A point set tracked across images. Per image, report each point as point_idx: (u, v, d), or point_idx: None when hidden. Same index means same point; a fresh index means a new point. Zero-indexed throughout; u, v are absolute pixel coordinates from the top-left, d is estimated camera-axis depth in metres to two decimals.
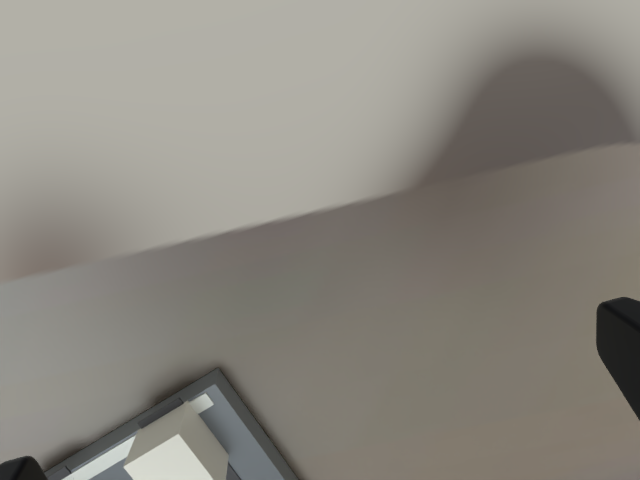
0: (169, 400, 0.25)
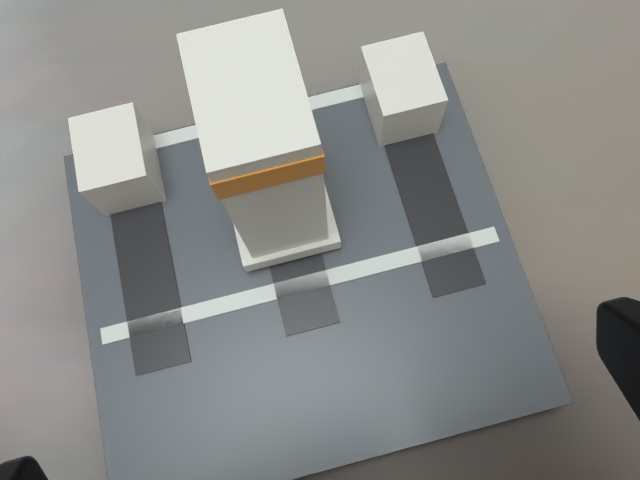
0: None
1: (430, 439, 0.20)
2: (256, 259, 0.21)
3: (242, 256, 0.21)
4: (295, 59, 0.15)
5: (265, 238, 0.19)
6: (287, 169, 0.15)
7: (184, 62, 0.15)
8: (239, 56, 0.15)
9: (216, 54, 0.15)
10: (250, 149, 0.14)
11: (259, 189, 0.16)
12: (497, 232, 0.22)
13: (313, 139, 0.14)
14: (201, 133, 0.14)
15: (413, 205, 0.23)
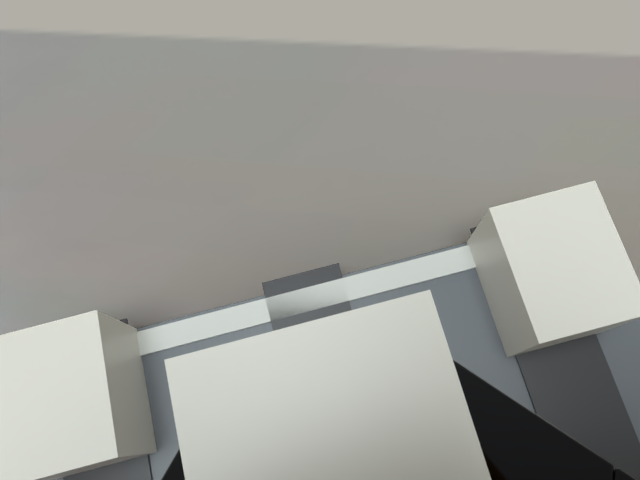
0: None
1: None
2: None
3: None
4: (476, 447, 0.06)
5: None
6: None
7: (185, 448, 0.06)
8: (327, 431, 0.06)
9: (268, 425, 0.06)
10: None
11: None
12: None
13: None
14: None
15: None
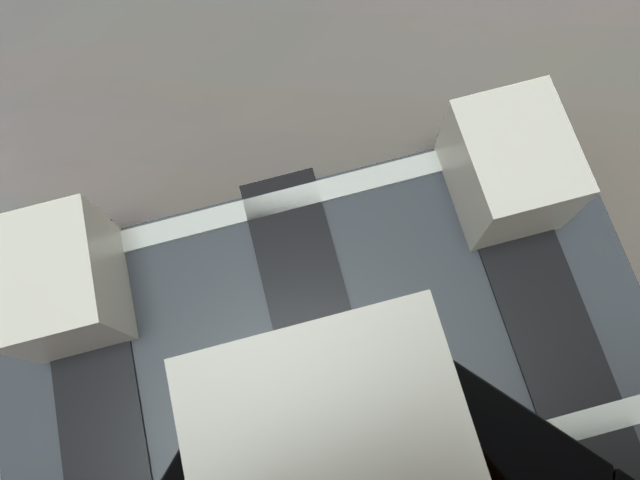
0: None
1: None
2: None
3: None
4: (476, 446, 0.06)
5: None
6: None
7: (184, 447, 0.06)
8: (327, 431, 0.06)
9: (267, 425, 0.06)
10: None
11: None
12: None
13: None
14: None
15: (530, 350, 0.14)
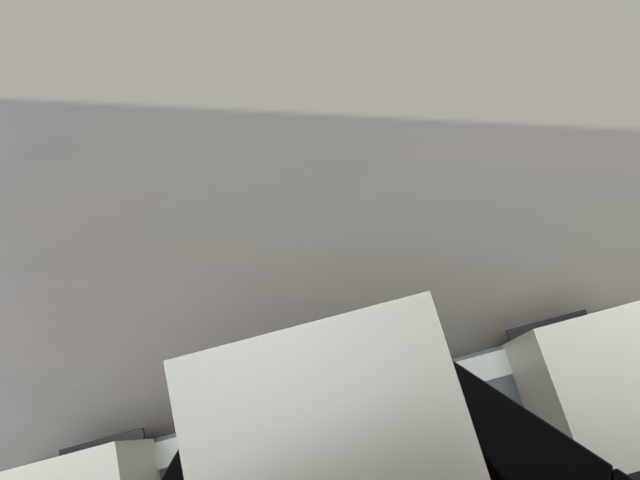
0: None
1: None
2: None
3: None
4: (476, 448, 0.06)
5: None
6: None
7: (184, 449, 0.06)
8: (327, 431, 0.06)
9: (267, 427, 0.06)
10: None
11: None
12: None
13: None
14: None
15: None
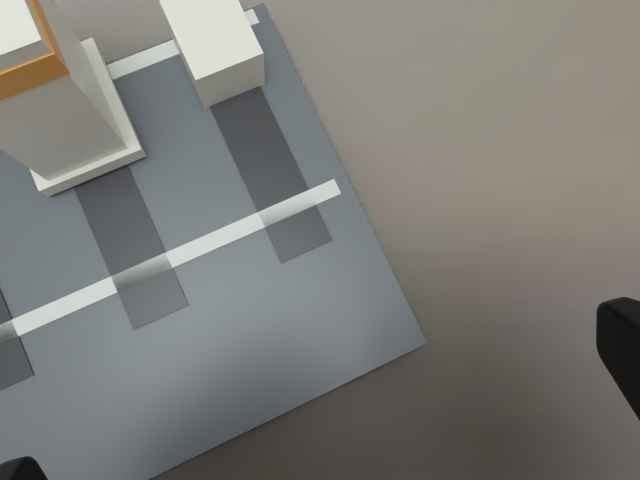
0: None
1: (295, 405, 0.20)
2: (52, 181, 0.20)
3: (36, 180, 0.20)
4: None
5: (47, 157, 0.18)
6: (17, 73, 0.13)
7: None
8: None
9: None
10: None
11: None
12: (338, 184, 0.22)
13: (31, 35, 0.13)
14: None
15: (249, 168, 0.21)
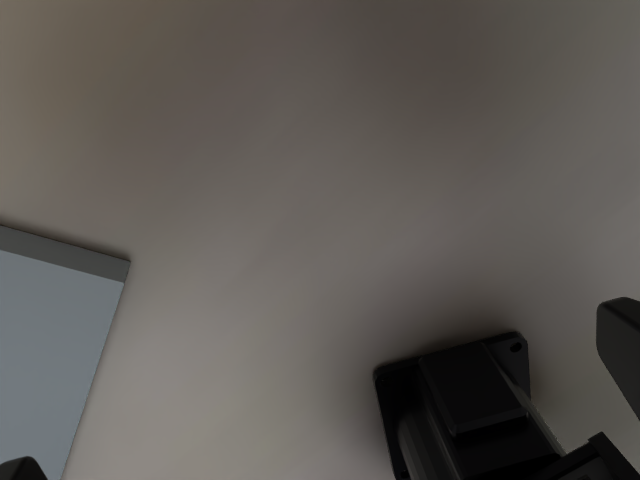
0: None
1: (84, 399, 0.21)
2: None
3: None
4: None
5: None
6: None
7: None
8: None
9: None
10: None
11: None
12: None
13: None
14: None
15: None
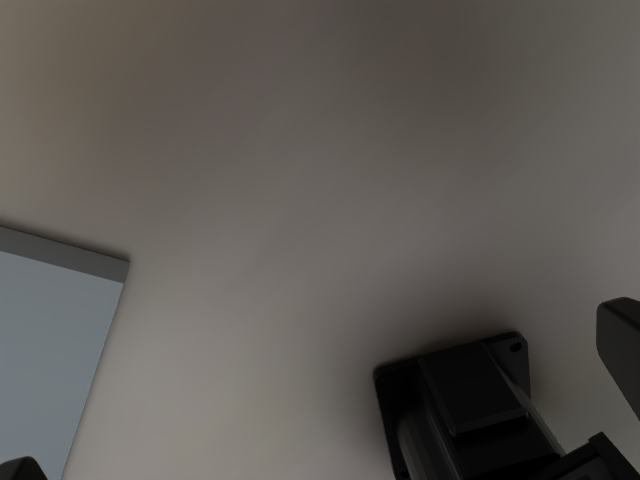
0: None
1: (84, 400, 0.21)
2: None
3: None
4: None
5: None
6: None
7: None
8: None
9: None
10: None
11: None
12: None
13: None
14: None
15: None
